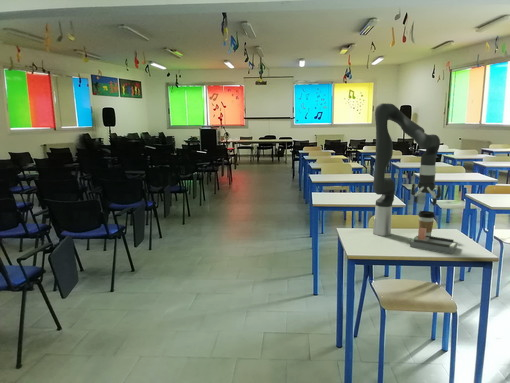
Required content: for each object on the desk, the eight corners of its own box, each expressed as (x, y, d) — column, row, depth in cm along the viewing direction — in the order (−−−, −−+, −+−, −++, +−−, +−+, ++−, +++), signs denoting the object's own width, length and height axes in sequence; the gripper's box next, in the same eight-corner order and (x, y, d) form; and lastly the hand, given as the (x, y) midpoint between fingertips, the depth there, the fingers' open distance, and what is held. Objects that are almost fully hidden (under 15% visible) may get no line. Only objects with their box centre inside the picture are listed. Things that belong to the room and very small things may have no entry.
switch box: (410, 246, 204) (410, 239, 203) (416, 241, 213) (416, 233, 212) (451, 254, 192) (452, 246, 191) (456, 247, 201) (457, 239, 200)
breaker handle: (414, 240, 204) (414, 229, 203) (417, 236, 210) (418, 226, 209) (426, 242, 201) (426, 231, 200) (429, 238, 206) (430, 228, 205)
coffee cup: (425, 240, 214) (426, 214, 212) (413, 236, 222) (415, 210, 219) (436, 238, 217) (438, 212, 215) (424, 234, 225) (426, 209, 222)
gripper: (410, 173, 200) (409, 203, 203) (440, 175, 192) (438, 207, 195) (415, 171, 206) (413, 201, 209) (443, 173, 197) (441, 204, 201)
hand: (425, 204), depth 202 cm, fingers open, 8 cm apart
